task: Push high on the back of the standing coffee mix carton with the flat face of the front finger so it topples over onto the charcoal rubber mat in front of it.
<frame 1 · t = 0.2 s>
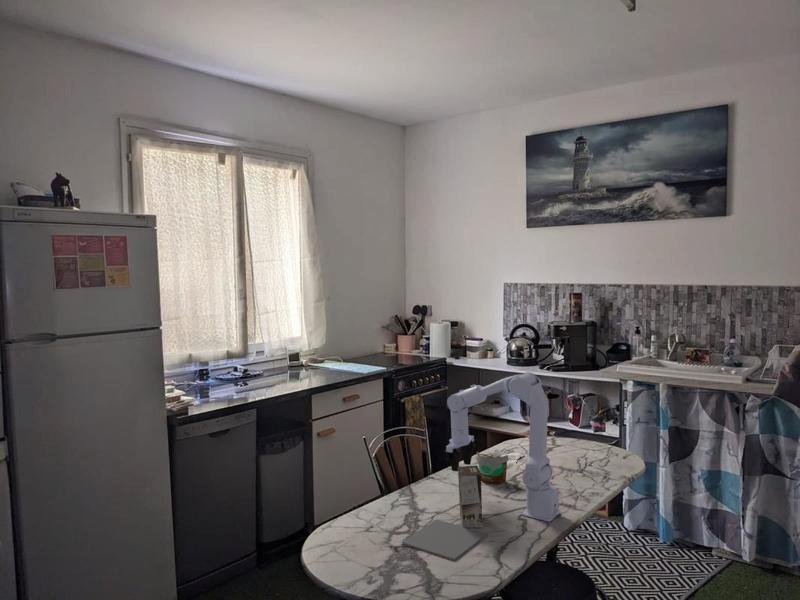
hand: (461, 467, 201), 10 cm above the table, tool pointing down, fingers open, 7 cm apart
mat: (445, 539, 171), on the table
coffee box: (471, 522, 182), on the table
cloth: (507, 463, 237), on the table
food container: (490, 483, 214), on the table
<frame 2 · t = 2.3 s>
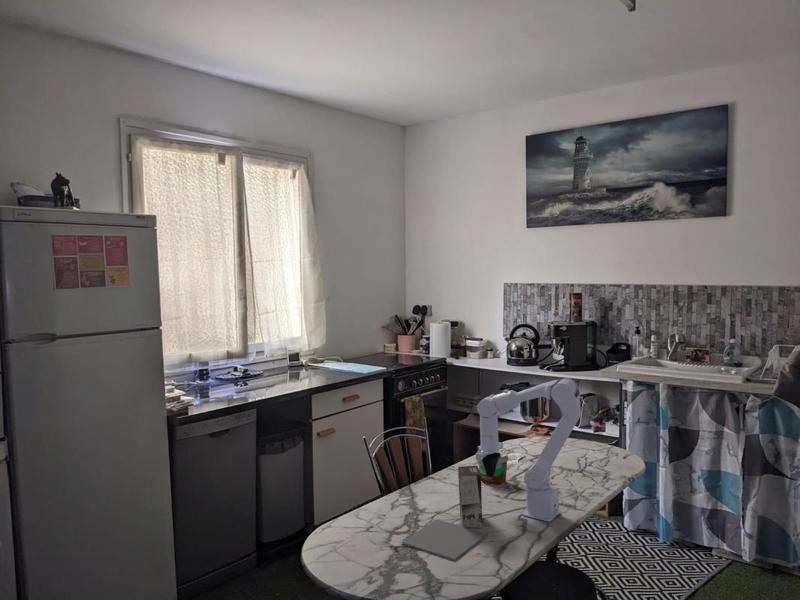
hand: (490, 475, 192), 10 cm above the table, tool pointing down, fingers closed
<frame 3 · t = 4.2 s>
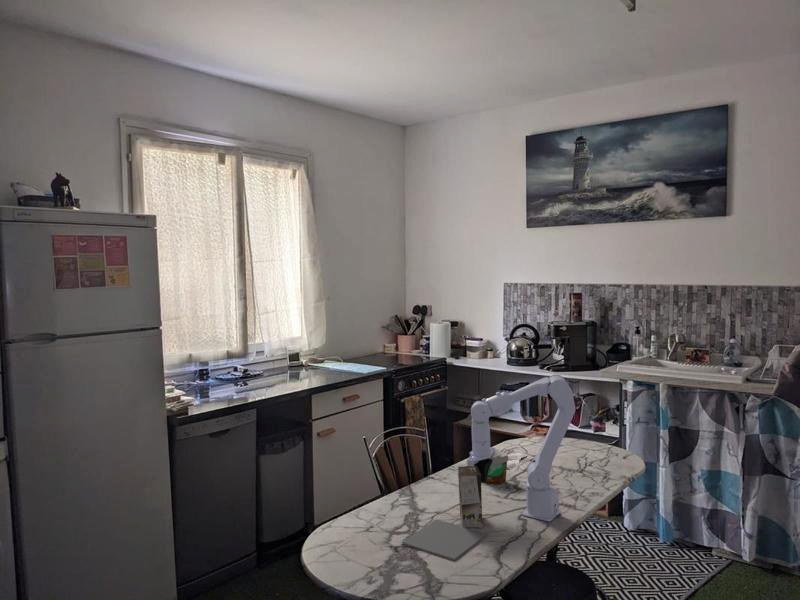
hand: (482, 482, 188), 10 cm above the table, tool pointing down, fingers closed
coffee box: (471, 522, 182), on the table, touching gripper
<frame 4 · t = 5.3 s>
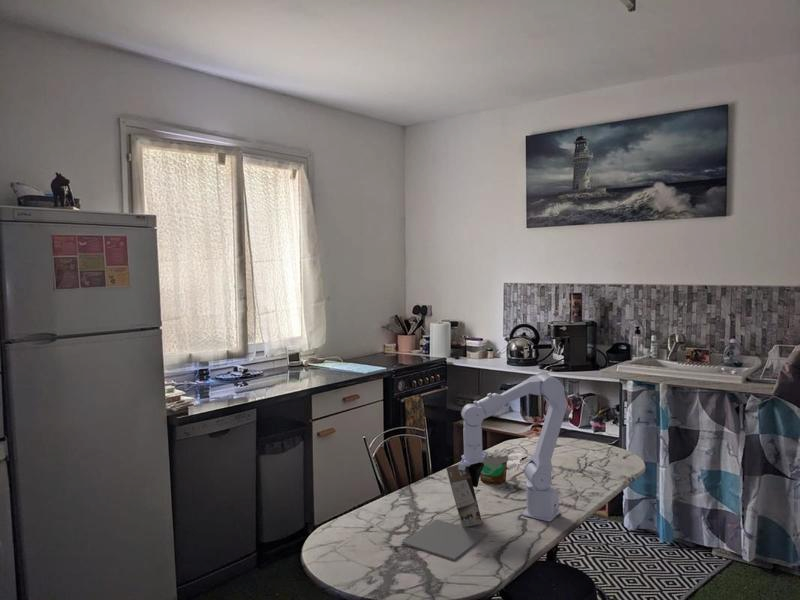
hand: (474, 486, 184), 10 cm above the table, tool pointing down, fingers closed, pressing on coffee box
coffee box: (470, 516, 182), point 1 cm above the table, touching gripper
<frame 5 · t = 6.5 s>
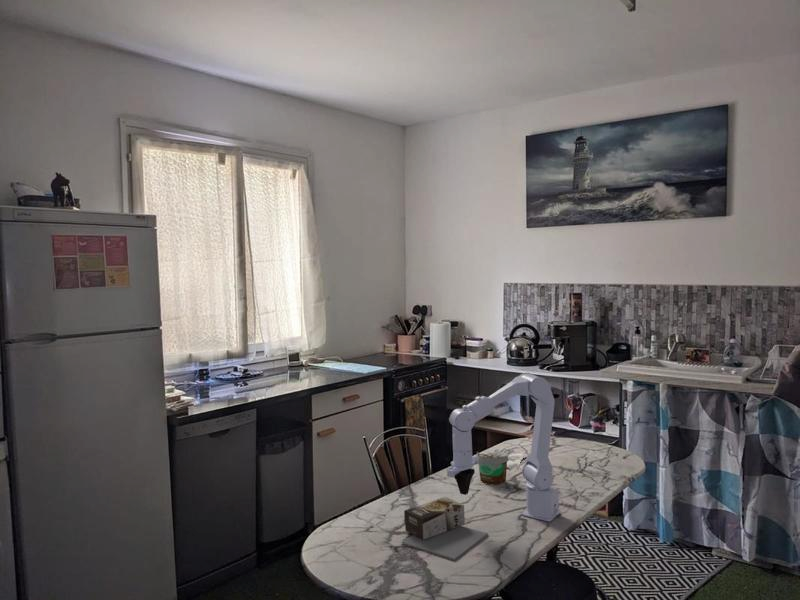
hand: (464, 493, 179), 10 cm above the table, tool pointing down, fingers closed
coffee box: (455, 509, 182), point 4 cm above the table, touching mat
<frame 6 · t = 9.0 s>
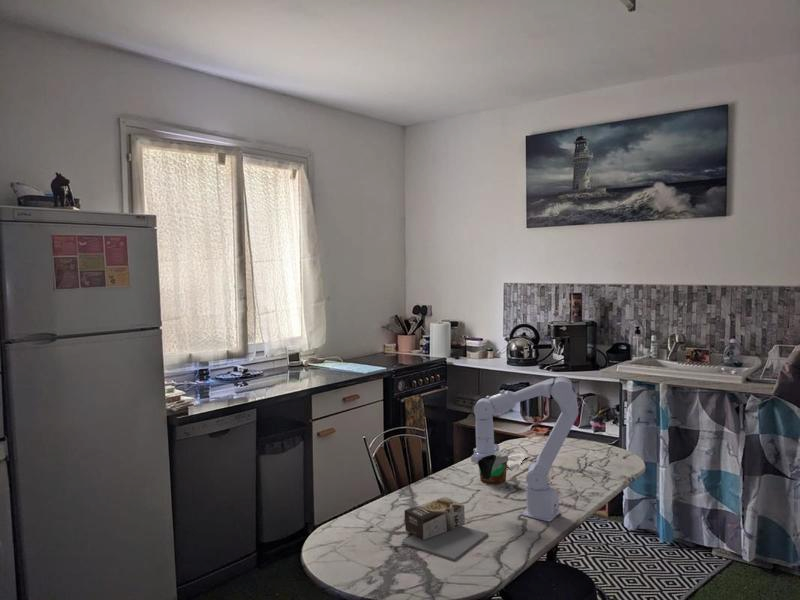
hand: (486, 478, 190), 10 cm above the table, tool pointing down, fingers closed
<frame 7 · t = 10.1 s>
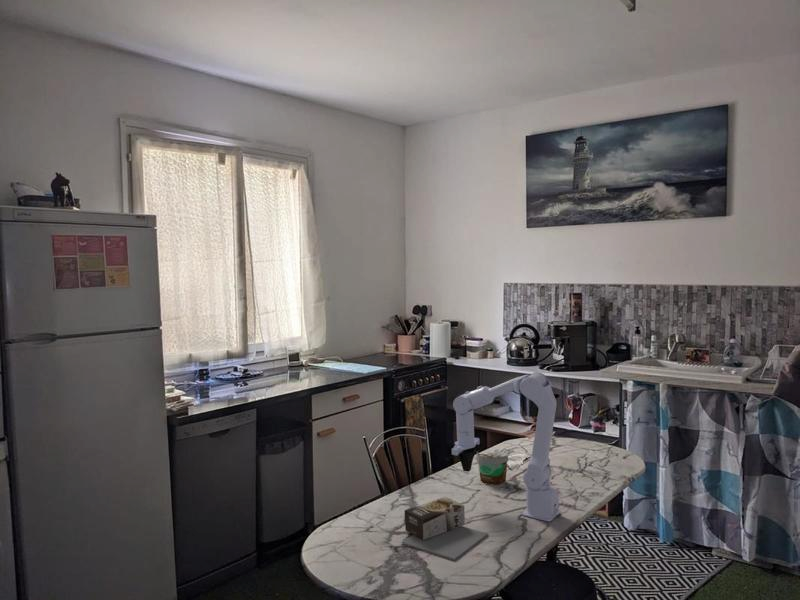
hand: (466, 470, 198), 10 cm above the table, tool pointing down, fingers closed
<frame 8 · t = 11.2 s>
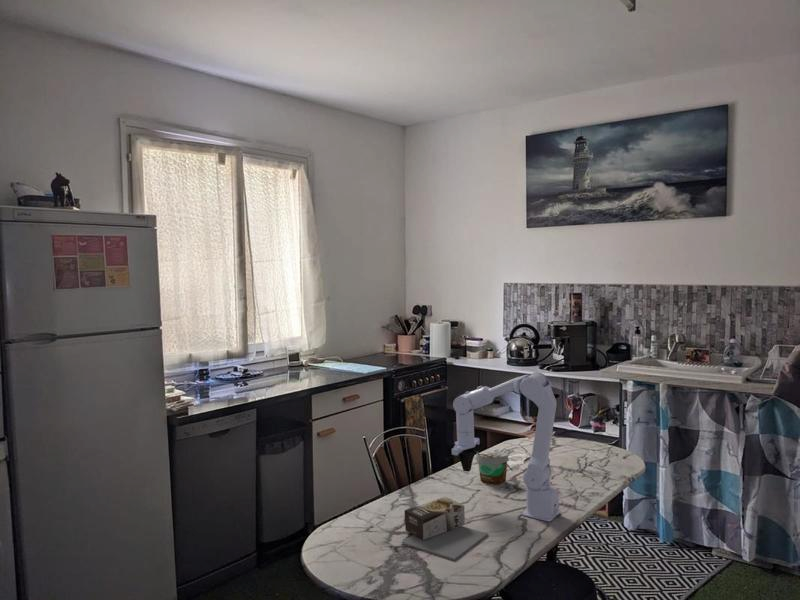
hand: (466, 470, 198), 10 cm above the table, tool pointing down, fingers closed
at the end: coffee box tilted 90°; coffee box inside the target area (7.3 cm from its centre), point 3.8 cm above the table; coffee box touching mat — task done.
